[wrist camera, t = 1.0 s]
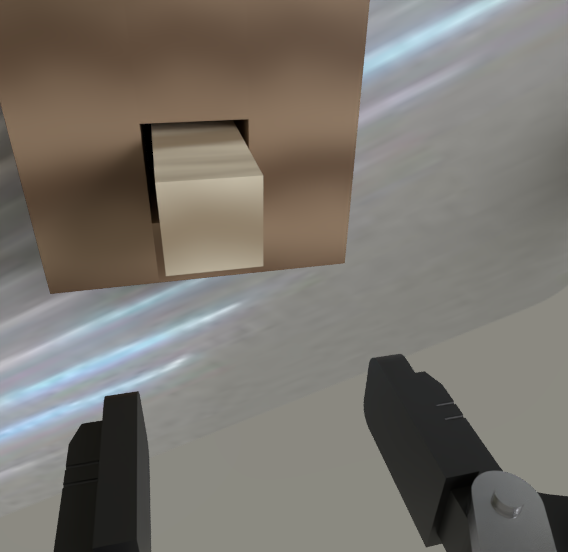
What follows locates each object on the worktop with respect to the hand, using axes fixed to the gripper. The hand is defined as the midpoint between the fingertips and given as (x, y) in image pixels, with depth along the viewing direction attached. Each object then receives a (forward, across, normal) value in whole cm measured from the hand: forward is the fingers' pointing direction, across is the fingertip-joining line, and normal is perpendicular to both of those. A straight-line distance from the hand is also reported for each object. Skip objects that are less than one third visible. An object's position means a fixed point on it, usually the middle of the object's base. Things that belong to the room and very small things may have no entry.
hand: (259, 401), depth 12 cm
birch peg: (+17, 0, 0) cm, 17 cm away
